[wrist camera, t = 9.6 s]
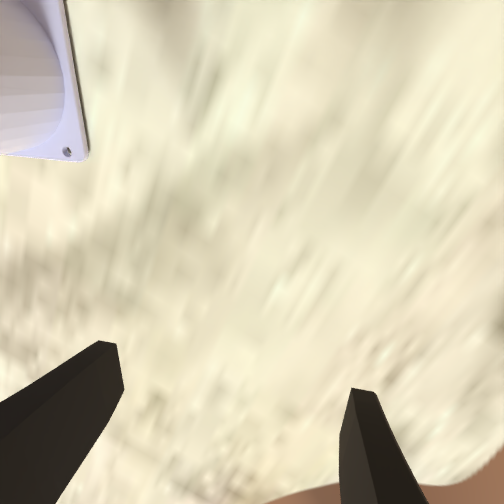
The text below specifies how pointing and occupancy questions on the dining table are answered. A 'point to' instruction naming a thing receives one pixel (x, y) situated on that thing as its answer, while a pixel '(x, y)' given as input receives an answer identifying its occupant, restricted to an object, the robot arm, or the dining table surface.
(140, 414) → the dining table surface
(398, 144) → the dining table surface
